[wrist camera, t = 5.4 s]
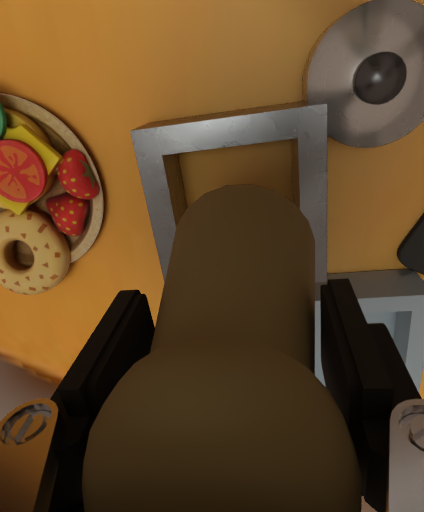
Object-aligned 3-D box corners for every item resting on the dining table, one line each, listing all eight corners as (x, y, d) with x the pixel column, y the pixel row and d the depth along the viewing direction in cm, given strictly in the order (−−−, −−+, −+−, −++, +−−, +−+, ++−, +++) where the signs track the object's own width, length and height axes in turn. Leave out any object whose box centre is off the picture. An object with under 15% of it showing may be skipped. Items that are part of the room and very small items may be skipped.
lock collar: (435, -5, 19) (478, -25, 15) (407, 246, 25) (433, 275, 22) (133, 47, 21) (110, 42, 18) (177, 264, 28) (166, 292, 24)
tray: (412, 268, 26) (434, 294, 23) (397, 388, 31) (414, 423, 28) (221, 281, 28) (218, 306, 25) (238, 391, 33) (236, 424, 30)
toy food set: (52, 294, 31) (31, 316, 28) (-92, 190, 28) (-132, 203, 25) (143, 184, 25) (129, 197, 23) (-22, 40, 22) (-62, 35, 19)
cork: (275, 329, 17) (292, 680, 7) (155, 281, 16) (2, 584, 7) (344, 220, 14) (530, 559, 4) (202, 158, 14) (51, 380, 4)
